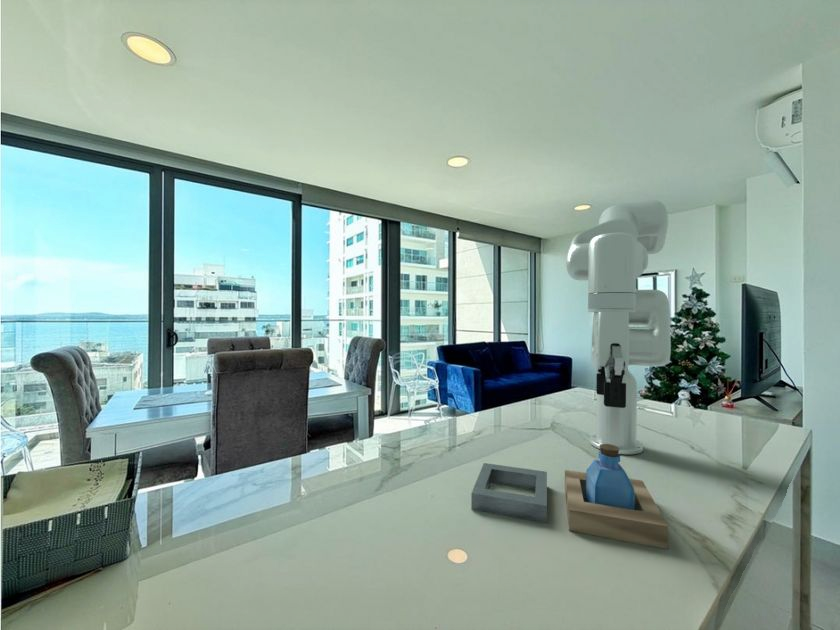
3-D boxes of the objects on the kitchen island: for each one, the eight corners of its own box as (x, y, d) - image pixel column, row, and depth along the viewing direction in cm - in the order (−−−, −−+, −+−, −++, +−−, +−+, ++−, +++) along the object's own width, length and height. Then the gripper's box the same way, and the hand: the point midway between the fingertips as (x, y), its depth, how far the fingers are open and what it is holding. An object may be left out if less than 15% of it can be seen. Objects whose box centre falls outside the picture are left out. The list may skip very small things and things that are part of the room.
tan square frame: (564, 486, 76) (564, 469, 76) (642, 498, 71) (642, 480, 71) (569, 530, 61) (569, 509, 61) (667, 548, 56) (668, 526, 56)
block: (483, 476, 80) (483, 462, 80) (546, 486, 76) (546, 471, 76) (471, 509, 67) (471, 493, 67) (546, 523, 63) (546, 505, 63)
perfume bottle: (633, 525, 62) (634, 455, 62) (594, 521, 64) (595, 452, 64) (621, 506, 69) (622, 442, 68) (585, 502, 70) (586, 439, 70)
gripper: (583, 305, 75) (582, 389, 75) (593, 302, 59) (592, 410, 59) (625, 305, 72) (623, 392, 73) (647, 302, 56) (646, 415, 56)
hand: (609, 400), depth 66 cm, fingers open, 9 cm apart
